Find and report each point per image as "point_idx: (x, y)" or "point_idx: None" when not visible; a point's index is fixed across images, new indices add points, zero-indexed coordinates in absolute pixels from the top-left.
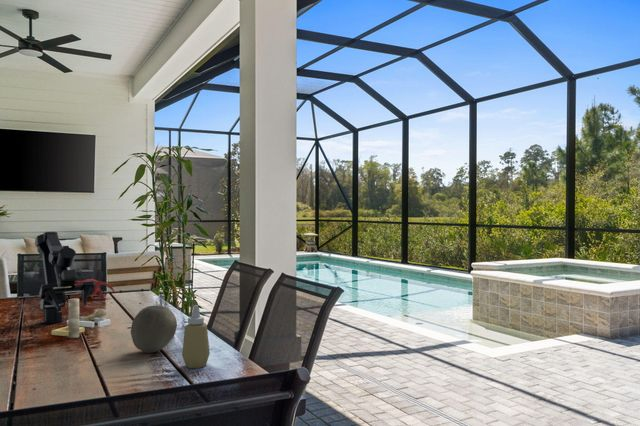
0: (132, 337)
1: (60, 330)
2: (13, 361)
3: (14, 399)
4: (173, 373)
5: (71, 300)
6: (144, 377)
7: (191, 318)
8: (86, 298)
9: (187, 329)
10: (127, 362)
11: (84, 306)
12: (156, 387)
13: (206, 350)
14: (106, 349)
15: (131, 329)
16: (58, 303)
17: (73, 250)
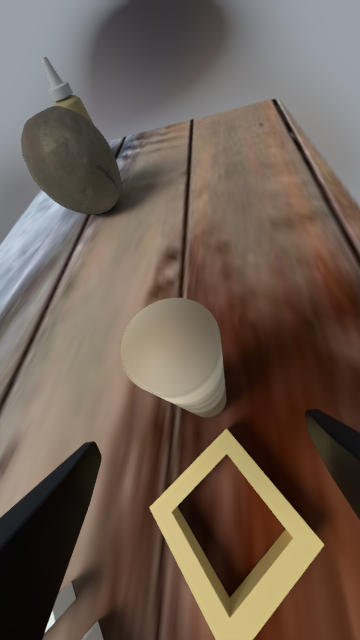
0: (118, 169)
1: (268, 502)
2: (337, 204)
3: (276, 108)
4: (125, 151)
5: (195, 303)
6: (151, 145)
7: (65, 82)
8: (19, 501)
9: (80, 99)
10: (149, 178)
11: (99, 457)
12: (152, 130)
13: None
14: (155, 236)
15: (111, 153)
16: (337, 442)
17: None
